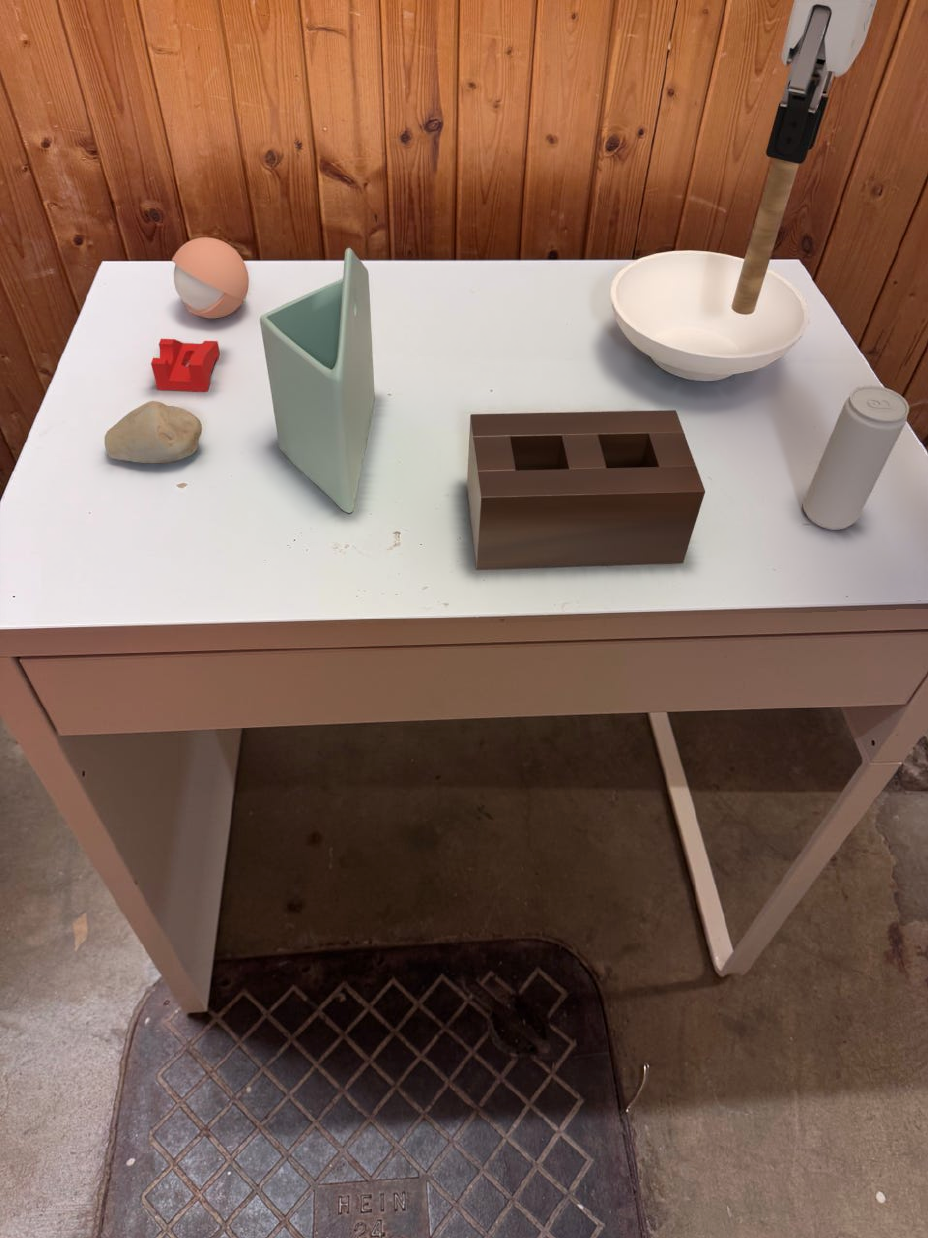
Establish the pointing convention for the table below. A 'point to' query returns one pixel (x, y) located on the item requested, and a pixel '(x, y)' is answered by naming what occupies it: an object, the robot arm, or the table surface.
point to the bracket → (184, 365)
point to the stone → (154, 434)
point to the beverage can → (855, 456)
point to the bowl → (704, 314)
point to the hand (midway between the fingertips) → (789, 150)
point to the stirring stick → (764, 234)
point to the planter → (324, 380)
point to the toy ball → (210, 277)
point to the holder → (581, 489)
